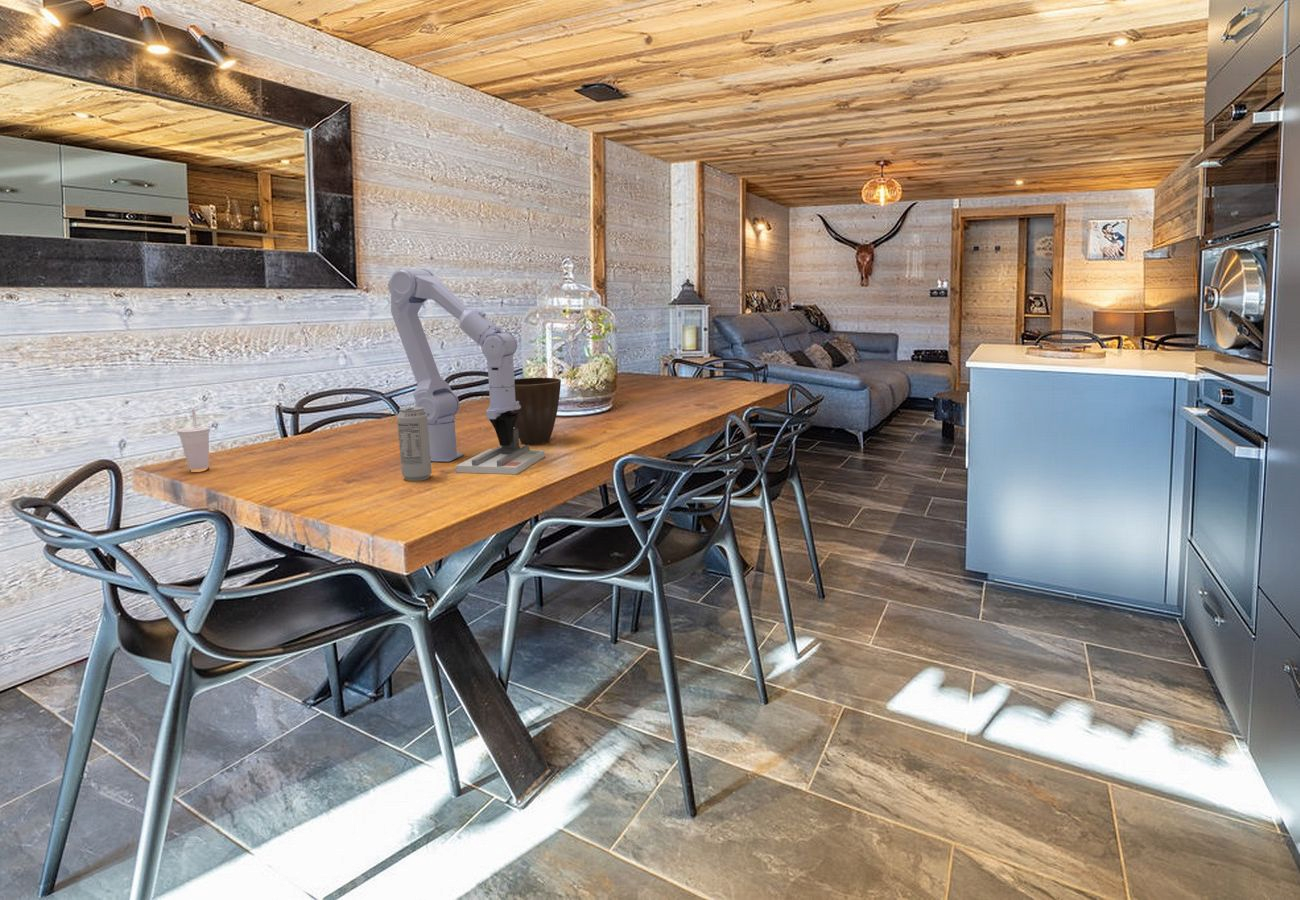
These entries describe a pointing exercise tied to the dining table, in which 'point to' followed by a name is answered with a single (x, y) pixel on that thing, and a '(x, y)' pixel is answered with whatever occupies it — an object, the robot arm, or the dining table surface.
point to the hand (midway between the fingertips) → (505, 445)
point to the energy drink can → (414, 443)
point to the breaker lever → (512, 443)
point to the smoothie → (195, 445)
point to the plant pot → (536, 408)
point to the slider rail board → (501, 461)
